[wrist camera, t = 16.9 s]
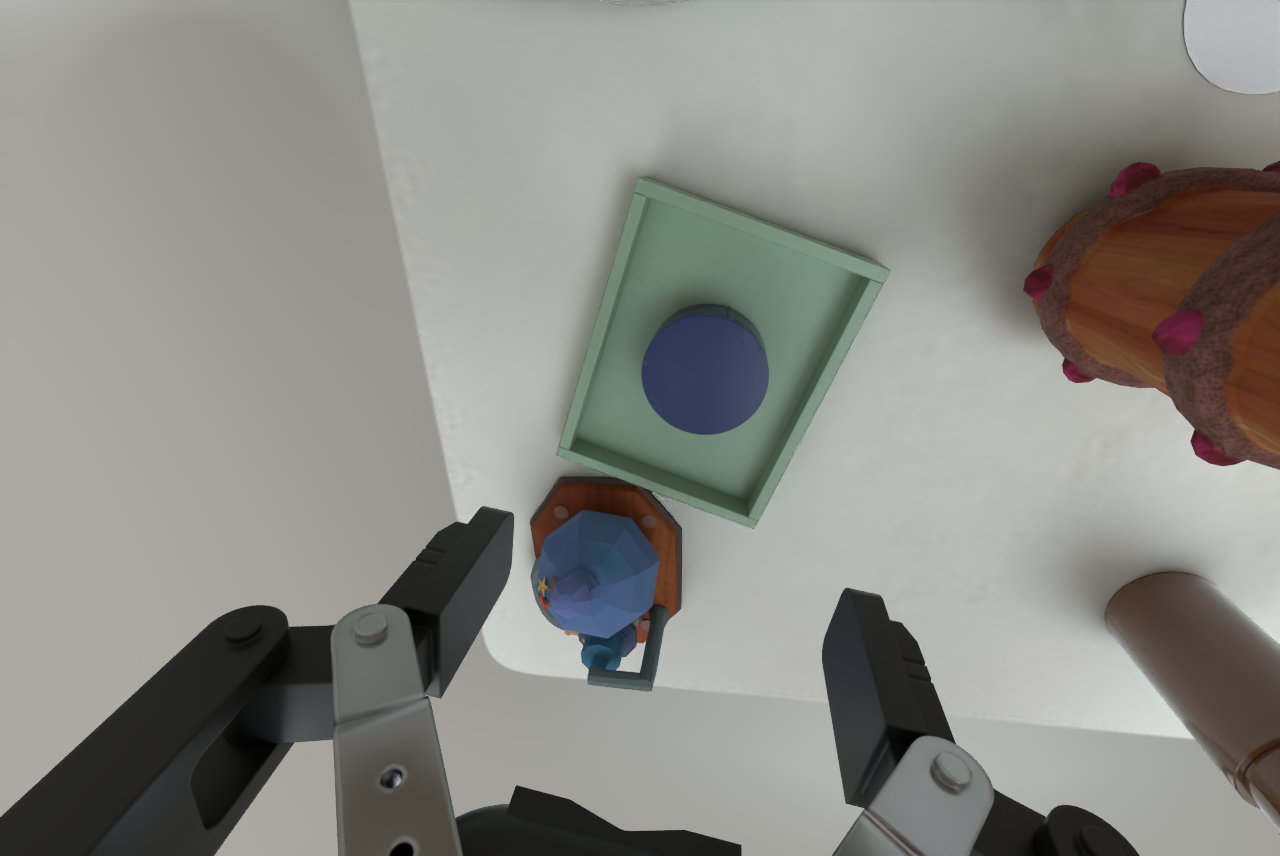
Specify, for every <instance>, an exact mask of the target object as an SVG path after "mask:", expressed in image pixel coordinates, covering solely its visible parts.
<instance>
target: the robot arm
mask: <svg viewBox="0 0 1280 856" xmlns="http://www.w3.org/2000/svg"><path fill="white" fill-rule="evenodd" d="M513 531H514V515H513V513H512V512H508V511H503V510H499V509H494V508H490V507H485V506H483V507H481V508H480V509H479V510H478V511H477V513H476V514H475V515H474V517H473V518H472V519H471V520H470V522H469V523H468V524H465V523H461V522H455V523H453V524H451V525H450V526H448V527H446V528H444V529H442V530H441V531H439V532H438V533H437V534H436V535H435V536H434V537H433V539H432V540H431V541H430V542H429V543H428V544H427V546H426V549H423V550H422V552H421V553H420V554H419V555H418V556H417V558H416V560H415V561H413V562H412V564H411V565H410V566H409V567H408V568H407V570H405V572H404V573H403V574H402V575H401V576H400V577H399V579H398V580H397V581H396V582H395V583H394V585H393V586H392V587H391V588H390V589H389V590H388V592H387V593H386V594H385V595H384V596H383V598H382V599H381V600H380V601H379V603H377V604H373V605H368V606H364V607H361V608H358V609H356V610H354V611H352V612H350V613H348V614H347V615H345V616H344V617H343V618H342V619H341V620H339V621H338V623H337V624H336V625H329V626H304V627H303V626H302V627H289V626H288V621H287V617H286V615H285V614H284V613H283V612H282V611H281V610H279V609H277V608H275V607H271V606H264V605H262V606H261V605H256V606H249V607H244V608H240V609H236V610H234V611H231V612H229V613H226V614H225V615H222V616H221V617H219V618H217V619H216V620H214V621H213V622H212V623H210V624H209V625H208V626H207V627H206V628H205V629H204V630H203V631H201V632H200V633H199V634H198V635H197V636H196V637H195V638H194V639H193V640H192V641H191V642H190V643H188V644H187V645H186V646H185V647H184V648H183V649H182V650H181V651H180V652H179V653H178V654H177V655H176V656H174V657H173V658H172V659H171V660H170V661H169V662H168V663H167V664H166V665H165V666H164V667H162V668H161V669H160V670H159V671H158V672H157V673H156V674H155V675H154V676H153V677H152V678H151V679H150V680H148V681H147V682H146V683H145V684H144V685H143V686H142V687H141V688H140V689H139V690H138V691H137V692H136V693H135V694H133V695H132V696H131V697H130V698H129V699H128V700H127V701H126V702H125V703H124V704H122V705H121V706H120V707H119V708H118V709H117V710H116V711H115V712H114V713H113V714H112V715H111V716H109V717H108V718H107V719H106V720H105V721H104V722H103V723H102V724H101V725H100V726H99V727H98V728H96V729H95V730H94V731H93V732H92V733H91V734H90V735H89V736H88V737H87V738H86V739H85V740H83V741H82V743H80V744H79V745H78V746H77V747H76V748H75V749H74V750H73V751H72V752H70V753H69V755H67V756H66V757H65V758H64V759H63V760H62V761H61V762H60V763H59V764H58V765H56V766H55V767H54V768H53V769H52V770H51V771H50V772H49V773H48V774H47V775H46V776H45V777H43V778H42V779H41V780H40V781H39V782H38V783H37V784H36V785H35V786H34V787H33V788H32V789H31V790H30V791H28V792H27V793H26V794H25V795H24V796H23V797H22V798H21V799H20V800H19V801H17V802H16V803H15V804H14V805H13V806H12V807H11V808H10V809H9V810H8V811H7V812H6V813H4V814H3V815H2V817H0V856H214V855H215V854H216V852H217V850H218V849H219V848H220V846H221V845H222V844H223V842H224V841H225V839H226V838H227V837H228V835H229V834H230V832H231V831H232V830H233V828H234V827H235V825H236V824H237V823H238V821H239V820H240V818H241V817H242V816H243V814H244V813H245V811H246V810H247V809H248V807H249V806H250V804H251V803H252V802H253V800H254V799H255V797H256V796H257V794H258V793H259V792H260V790H261V789H262V787H263V786H264V785H265V783H266V782H267V780H268V779H269V778H270V776H271V775H272V773H273V772H274V771H275V769H276V768H277V766H278V765H279V764H280V762H281V761H282V759H283V758H284V757H285V755H286V754H287V752H288V751H289V749H290V748H291V747H292V745H293V744H294V742H305V741H318V740H332V739H333V748H334V769H335V770H334V771H335V790H336V791H335V792H336V815H337V837H338V856H741V845H739V844H735V843H732V842H728V841H724V840H720V839H717V838H713V837H709V836H705V835H701V834H698V833H694V832H690V831H686V830H666V831H665V830H664V831H624V830H621V829H619V828H617V827H616V826H614V825H612V824H611V823H609V822H607V821H605V820H604V819H602V818H600V817H599V816H597V815H595V814H593V813H592V812H590V811H588V810H587V809H585V808H583V807H582V806H580V805H578V804H576V803H575V802H573V801H572V800H569V799H566V798H562V797H558V796H554V795H551V794H547V793H543V792H539V791H535V790H532V789H528V788H524V787H520V786H516V787H515V790H514V793H513V796H512V799H511V801H510V804H500V805H494V806H488V807H483V808H480V809H477V810H473V811H470V812H468V813H465V814H463V815H461V816H458V817H456V818H455V816H454V810H453V806H452V801H451V797H450V792H449V787H448V782H447V777H446V773H445V768H444V763H443V759H442V754H441V749H440V744H439V739H438V735H437V730H436V726H435V721H434V716H433V711H432V706H431V702H430V699H429V697H428V696H425V695H430V696H433V697H437V698H442V696H443V694H444V692H445V691H446V689H447V687H448V685H449V683H450V682H451V680H452V678H453V677H454V675H455V673H456V671H457V670H458V668H459V666H460V664H461V663H462V661H463V659H464V657H465V655H466V654H467V652H468V650H469V649H470V647H471V645H472V643H473V642H474V640H475V638H476V636H477V634H478V633H479V631H480V629H481V628H482V626H483V624H484V622H485V621H486V619H487V617H488V615H489V614H490V612H491V610H492V608H493V606H494V605H495V603H496V601H497V599H498V598H499V596H500V594H501V592H502V591H503V589H504V587H505V585H506V583H507V580H508V577H509V574H510V569H511V564H512V548H513ZM822 663H823V670H824V676H825V682H826V688H827V694H828V700H829V706H830V712H831V717H832V723H833V730H834V735H835V741H836V747H837V754H838V760H839V765H840V772H841V778H842V783H843V789H844V796H845V802H846V804H850V805H854V806H858V807H862V808H865V809H864V810H863V812H862V813H861V814H860V816H859V817H858V818H857V820H856V821H855V823H854V824H853V826H852V827H851V828H850V830H849V832H848V833H847V834H846V836H845V837H844V839H843V840H842V842H841V843H840V845H839V846H838V847H837V849H836V850H835V852H834V853H833V855H832V856H1139V854H1138V853H1137V852H1136V850H1135V849H1134V848H1133V847H1132V845H1131V844H1130V843H1129V842H1128V841H1127V840H1126V839H1125V838H1124V837H1123V836H1122V835H1121V834H1120V833H1119V832H1118V831H1117V830H1116V829H1115V828H1113V827H1112V826H1111V825H1110V824H1108V823H1107V822H1105V821H1104V820H1103V819H1101V818H1100V817H1098V816H1096V815H1094V814H1093V813H1091V812H1089V811H1086V810H1084V809H1082V808H1079V807H1075V806H1070V805H1062V806H1057V807H1056V808H1054V809H1053V810H1052V811H1051V812H1050V813H1049V815H1048V816H1047V817H1045V816H1043V815H1041V814H1039V813H1037V812H1035V811H1034V810H1032V809H1029V808H1028V807H1026V806H1024V805H1022V804H1020V803H1018V802H1016V801H1014V800H1013V799H1011V798H1009V797H1006V796H1005V795H1003V794H1002V793H1000V792H998V791H997V790H995V789H994V788H993V786H992V784H991V781H990V779H989V777H988V776H987V774H986V772H985V771H984V769H983V768H982V767H981V765H980V764H979V763H978V762H977V761H976V760H975V759H974V758H973V757H972V756H971V755H970V754H969V753H968V752H966V751H965V750H964V749H962V748H961V747H959V746H958V745H956V743H955V741H954V738H953V735H952V733H951V730H950V727H949V725H948V722H947V719H946V717H945V714H944V711H943V709H942V706H941V703H940V701H939V698H938V695H937V693H936V690H935V687H934V685H933V683H931V677H930V674H929V672H928V669H927V666H925V661H924V658H923V656H922V653H921V650H920V648H919V645H918V642H917V641H916V640H915V639H914V638H913V636H912V635H911V634H910V633H909V631H908V630H907V629H906V628H905V626H904V625H903V624H902V623H900V622H895V621H891V620H890V619H889V616H888V613H887V610H886V607H885V604H884V601H883V599H882V597H881V596H880V595H878V594H873V593H869V592H864V591H860V590H855V589H851V588H845V589H844V591H843V592H842V594H841V597H840V599H839V602H838V604H837V607H836V609H835V612H834V614H833V617H832V619H831V622H830V625H829V627H828V630H827V632H826V635H825V638H824V642H823V649H822Z"/></svg>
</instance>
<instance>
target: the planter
mask: <svg viewBox="0 0 1280 856" xmlns="http://www.w3.org/2000/svg"><path fill="white" fill-rule="evenodd" d="M599 1H603V2H609V3H614V4H622V5H634V6H653V5H665V4H672V3H679V2H683V1H688V0H599Z"/></svg>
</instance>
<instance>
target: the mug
mask: <svg viewBox="0 0 1280 856" xmlns="http://www.w3.org/2000/svg"><path fill="white" fill-rule="evenodd" d="M1023 291H1024V292H1026V293H1027V294H1028V295H1029V296H1030V297H1032V298H1033V300H1032V302H1033V304H1034V306H1035V309H1036V311H1037V314H1038V316H1039V318H1040V321H1041V325H1042V329H1043V330H1044V332H1045V334H1046V335H1047V337H1048V339H1049V340H1050V342H1051V343H1052V344H1053V345H1054V346H1055V347H1056V348H1057V349H1058V350H1059V351H1060V352H1061V354H1062V355H1063V357H1064V358H1065V359H1064V361H1063V364H1062V367H1063V373H1064V374H1065V375H1066V377H1067V378H1068V379H1069V380H1070V381H1072V382H1075V383H1083V382H1089V381H1092V380H1094V379H1095V378H1099V379H1102V380H1105V381H1108V382H1112V383H1115V384H1118V385H1123V386H1130V387H1137V388H1156V389H1158V390H1159V391H1161V392H1163V393H1164V394H1166V395H1167V396H1169V397H1171V398H1172V400H1173V402H1174V404H1175V406H1176V408H1177V410H1178V411H1179V412H1180V413H1181V414H1182V415H1183V416H1184V417H1185V418H1186V419H1187V420H1188V421H1189V423H1190V424H1191V425H1192V426H1193V427H1194V429H1195V430H1194V433H1193V436H1192V438H1191V444H1192V447H1193V449H1194V452H1195V455H1196V456H1198V457H1200V458H1201V459H1203V460H1205V461H1206V462H1208V463H1210V464H1215V465H1220V466H1227V465H1234V464H1237V463H1240V462H1243V461H1245V460H1250V461H1253V462H1256V463H1260V464H1263V465H1266V466H1269V467H1273V468H1276V469H1279V470H1280V161H1278V162H1276V163H1273V164H1271V165H1268V166H1266V167H1265V168H1264V169H1263V170H1262V171H1260V170H1254V169H1244V168H1213V167H1199V168H1191V169H1184V170H1176V171H1171V172H1166V173H1163V174H1162V173H1161V171H1160V170H1159V169H1158V168H1157V167H1156V166H1155V165H1153V164H1149V163H1143V162H1138V163H1134V164H1132V165H1130V166H1129V167H1127V168H1126V169H1124V170H1123V171H1121V172H1120V173H1119V175H1118V176H1117V178H1116V179H1115V180H1114V182H1113V183H1112V185H1111V189H1110V193H1109V195H1108V196H1107V197H1105V198H1104V199H1103V200H1101V201H1100V202H1099V203H1098V204H1096V205H1095V206H1094V207H1093V208H1092V209H1089V210H1086V211H1083V212H1081V213H1078V214H1077V215H1076V216H1074V218H1072V219H1071V220H1070V221H1069V222H1068V223H1067V224H1065V225H1064V226H1063V227H1062V228H1061V229H1060V230H1059V231H1057V232H1056V233H1055V234H1054V235H1053V236H1052V238H1051V239H1050V240H1049V241H1048V242H1047V244H1046V245H1045V247H1044V248H1043V250H1042V251H1041V253H1040V254H1039V257H1038V259H1037V261H1036V263H1035V270H1034V271H1032V272H1031V273H1030V274H1029V275H1028V277H1027V278H1026V279H1025V284H1024V290H1023Z"/></svg>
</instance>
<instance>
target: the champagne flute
mask: <svg viewBox="0 0 1280 856" xmlns="http://www.w3.org/2000/svg"><path fill="white" fill-rule="evenodd" d="M1184 38H1185V42H1186V46H1187V50H1188V54H1189V56H1190V58H1191V60H1192V62H1193V63H1194V65H1195V67H1196V69H1197V70H1198V71H1199V72H1200V73H1201V74H1202V75H1203V76H1204V77H1205V78H1206V79H1207V80H1208V81H1209V82H1211V83H1213V84H1215V85H1217V86H1218V87H1220V88H1222V89H1224V90H1228V91H1232V92H1236V93H1241V94H1267V93H1273V92H1278V91H1280V0H1187V2H1186V8H1185V13H1184Z"/></svg>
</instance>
